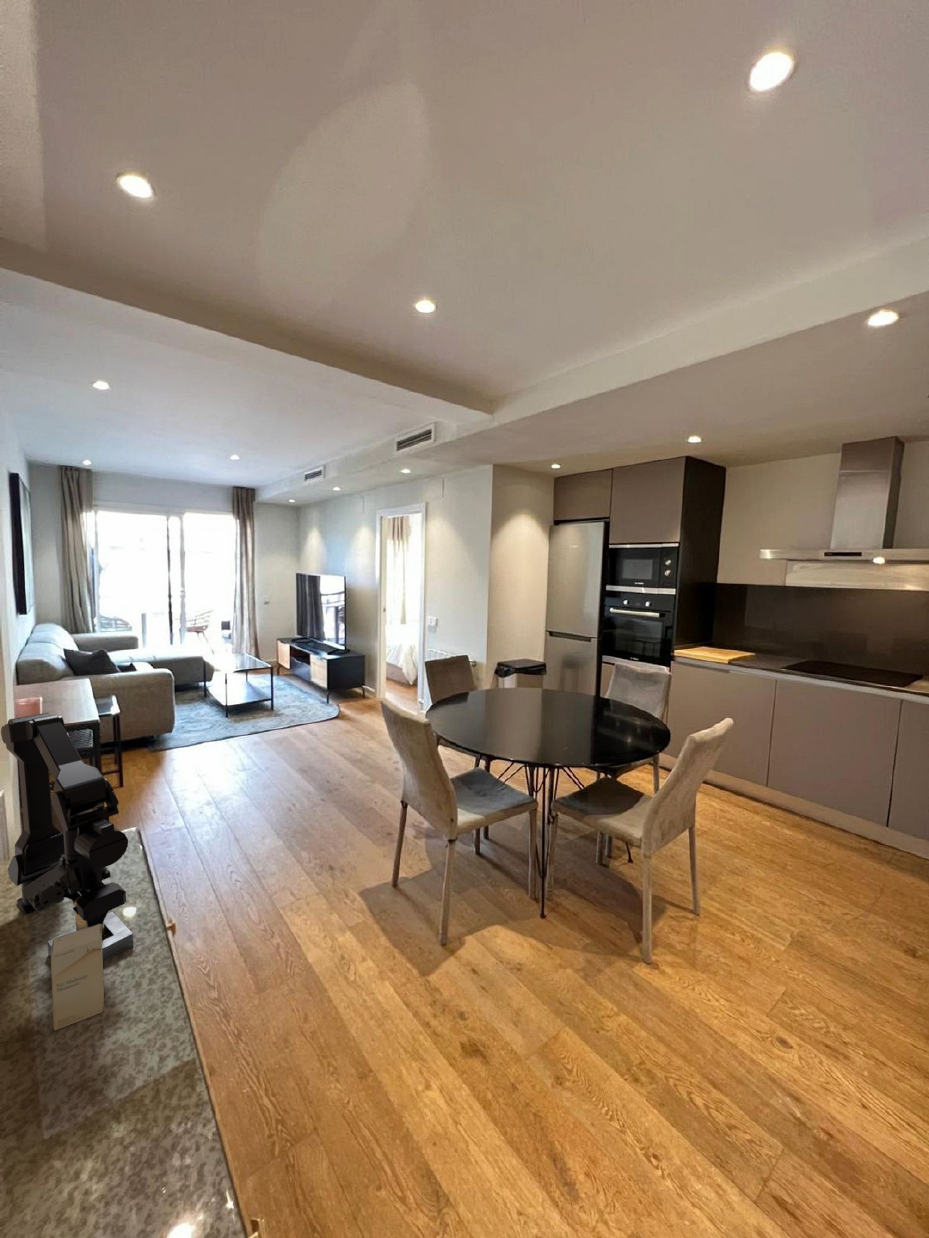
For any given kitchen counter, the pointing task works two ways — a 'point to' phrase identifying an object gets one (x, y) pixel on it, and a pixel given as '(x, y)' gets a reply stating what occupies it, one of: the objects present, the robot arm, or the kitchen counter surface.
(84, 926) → the bushing
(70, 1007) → the skincare box
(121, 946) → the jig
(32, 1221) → the kitchen counter surface
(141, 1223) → the kitchen counter surface
